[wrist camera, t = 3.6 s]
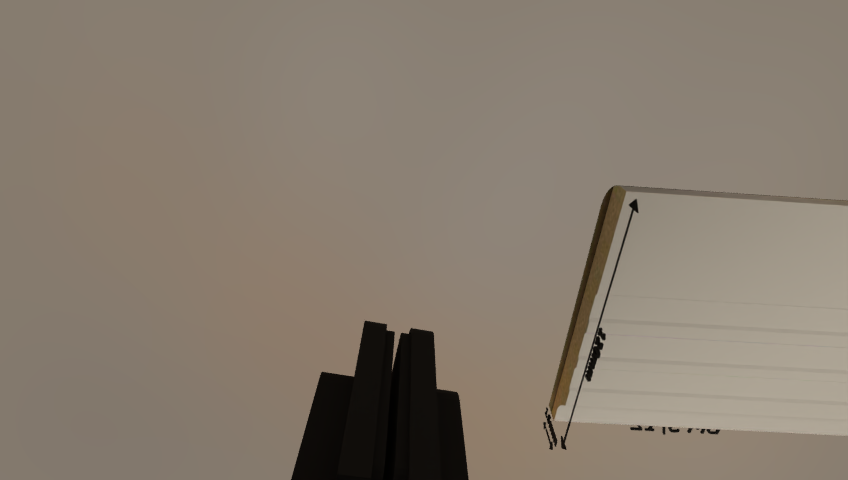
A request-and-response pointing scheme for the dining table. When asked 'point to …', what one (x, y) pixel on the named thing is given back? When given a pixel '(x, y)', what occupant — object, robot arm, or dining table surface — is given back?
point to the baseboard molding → (710, 315)
